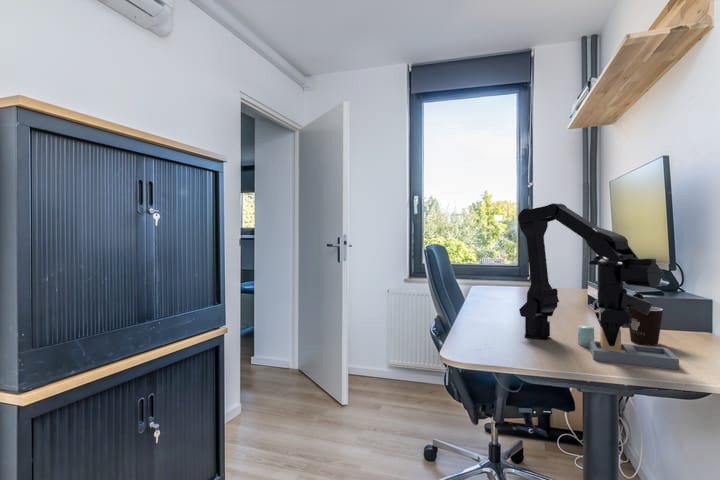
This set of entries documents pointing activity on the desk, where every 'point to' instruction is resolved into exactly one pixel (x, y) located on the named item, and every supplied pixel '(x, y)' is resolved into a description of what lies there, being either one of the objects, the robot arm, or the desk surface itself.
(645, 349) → the organizer
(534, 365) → the desk surface
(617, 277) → the robot arm
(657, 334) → the coffee mug
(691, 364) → the desk surface
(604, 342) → the ochre block
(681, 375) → the desk surface
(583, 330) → the teal capsule
